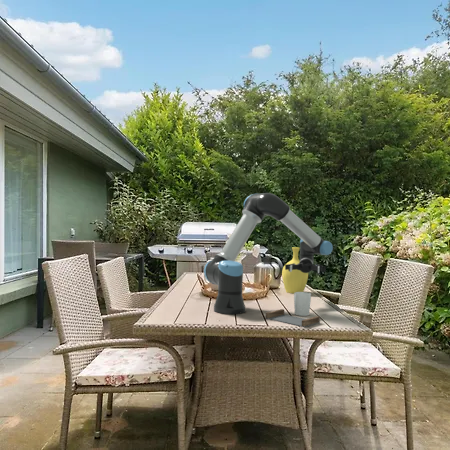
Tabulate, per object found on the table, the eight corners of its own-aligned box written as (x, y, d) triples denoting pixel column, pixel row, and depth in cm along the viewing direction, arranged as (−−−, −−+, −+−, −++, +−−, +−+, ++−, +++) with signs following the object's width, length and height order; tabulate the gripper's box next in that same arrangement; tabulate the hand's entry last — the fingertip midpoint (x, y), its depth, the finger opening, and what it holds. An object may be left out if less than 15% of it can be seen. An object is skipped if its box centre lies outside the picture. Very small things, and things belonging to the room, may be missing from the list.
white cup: (290, 314, 192) (290, 292, 192) (299, 311, 197) (300, 291, 197) (304, 317, 186) (304, 295, 186) (313, 314, 192) (314, 293, 191)
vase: (292, 289, 265) (294, 246, 265) (313, 293, 253) (314, 248, 253) (276, 291, 255) (277, 246, 254) (296, 295, 242) (297, 248, 242)
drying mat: (265, 318, 181) (265, 317, 181) (281, 314, 190) (281, 313, 190) (304, 327, 167) (304, 326, 167) (319, 322, 176) (319, 321, 176)
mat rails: (265, 317, 181) (266, 312, 181) (281, 313, 190) (281, 309, 190) (304, 326, 167) (304, 321, 167) (319, 321, 176) (319, 316, 176)
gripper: (329, 273, 219) (330, 278, 198) (282, 271, 225) (279, 276, 204) (329, 259, 219) (330, 263, 198) (283, 257, 225) (279, 261, 204)
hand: (304, 269), depth 201 cm, fingers open, 13 cm apart
